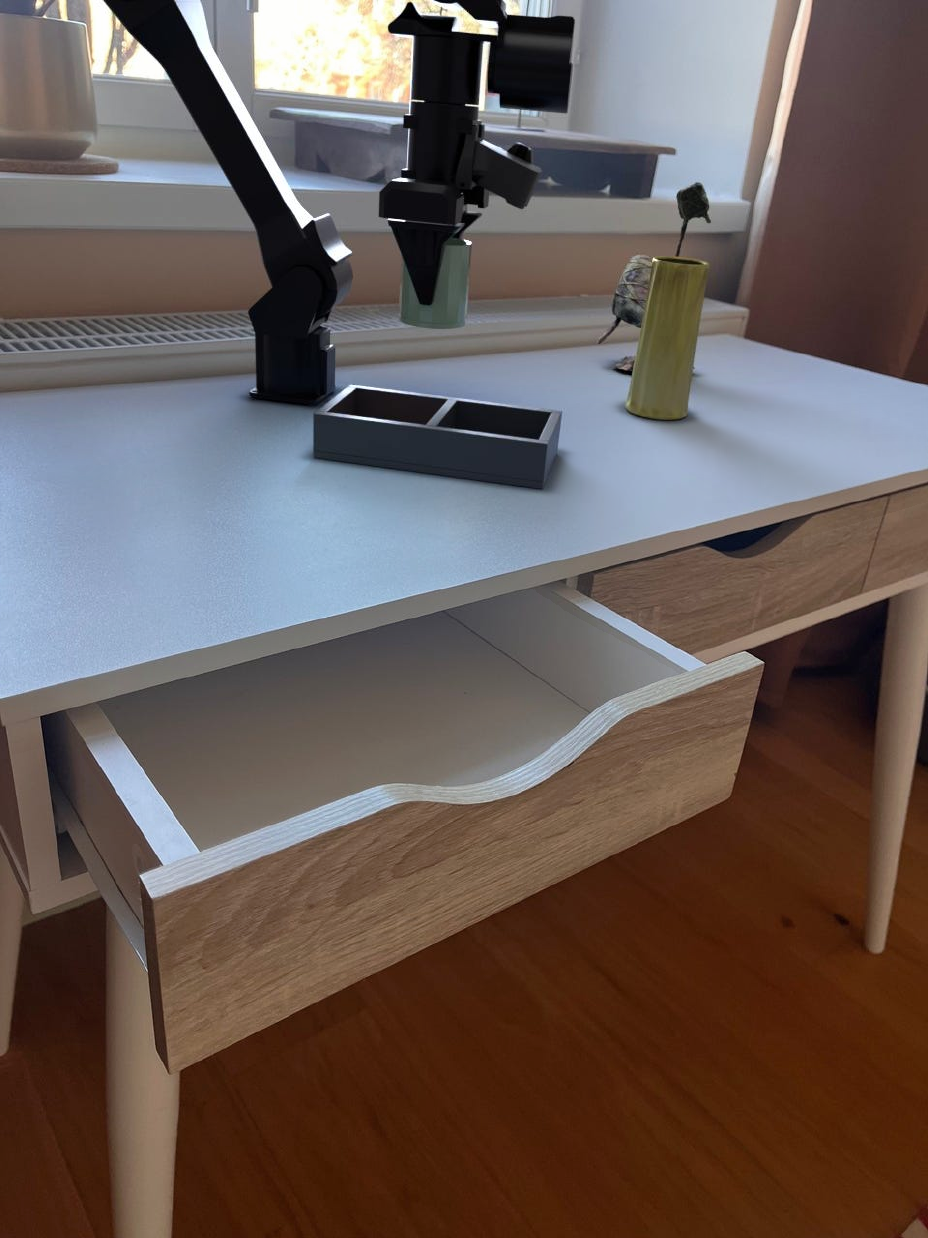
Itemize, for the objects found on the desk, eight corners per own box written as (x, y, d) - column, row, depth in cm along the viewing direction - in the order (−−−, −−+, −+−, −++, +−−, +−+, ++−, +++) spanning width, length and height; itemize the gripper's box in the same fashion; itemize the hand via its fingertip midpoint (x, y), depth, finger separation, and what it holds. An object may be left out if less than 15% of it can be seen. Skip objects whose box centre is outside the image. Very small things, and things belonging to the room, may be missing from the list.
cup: (392, 324, 88) (395, 240, 85) (407, 312, 93) (411, 233, 90) (459, 331, 87) (465, 247, 84) (470, 319, 93) (476, 239, 90)
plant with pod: (618, 354, 121) (643, 174, 112) (703, 374, 115) (738, 185, 106) (582, 364, 115) (606, 174, 106) (670, 385, 109) (704, 186, 100)
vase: (686, 423, 96) (715, 267, 89) (623, 415, 97) (646, 260, 90) (687, 407, 101) (713, 259, 94) (626, 400, 102) (648, 252, 95)
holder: (542, 489, 76) (547, 443, 75) (313, 457, 79) (313, 413, 77) (557, 452, 85) (562, 411, 83) (349, 425, 88) (350, 384, 86)
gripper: (528, 111, 73) (508, 328, 80) (551, 111, 90) (533, 292, 97) (380, 98, 74) (373, 313, 82) (430, 101, 91) (420, 280, 98)
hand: (432, 298), depth 89 cm, fingers closed on cup, 6 cm apart
